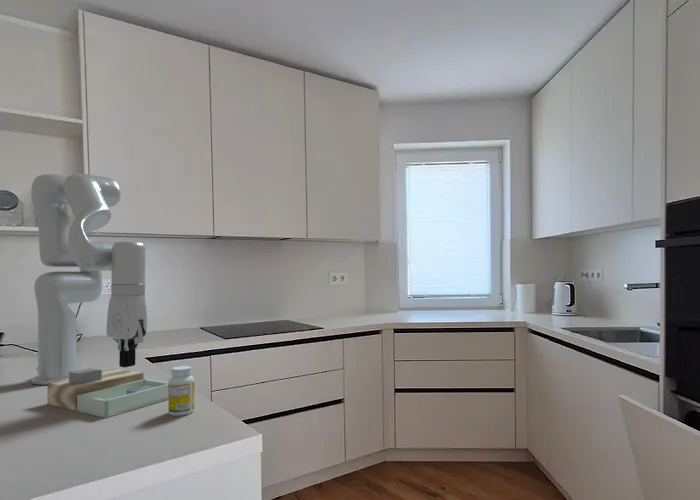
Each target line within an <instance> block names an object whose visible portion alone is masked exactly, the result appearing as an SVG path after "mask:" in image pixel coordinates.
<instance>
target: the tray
mask: <svg viewBox="0 0 700 500" xmlns="http://www.w3.org/2000/svg"><path fill="white" fill-rule="evenodd" d="M145 385H147V386H153V387H154V388H151V389H147V390H143V391H139V392H135V393H131V394H128V395H127V390H128V389H132V388H136V387H141V386H145ZM164 400H165V401H168V382H166V381H158V380H155V379H154V380H153V379H146V378H144V379H143V380H139V381H135V382H131V383H126V384H122V385H118V386H114V387H110V388H105V389H101V390H97V391H93V392H89V393H84V394H80V395H77V412H79V413H84V414H89V415H92V416H95V417H100V418H104V419H106V418H110V417H114V416H118V415H121V414H124V413H127V412H131V411H134V410H138V409H141V408H144V407H148V406H150V405H154V404H157V403H160V402H164Z"/></svg>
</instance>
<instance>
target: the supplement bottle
mask: <svg viewBox="0 0 700 500" xmlns="http://www.w3.org/2000/svg"><path fill="white" fill-rule="evenodd" d="M191 373H192V367H191V366H190V365H180V366H173V367H172V368H171V376H172V377H170V379H169V380H168V382H167V383H168V400H167V401H168V402H167V403H168V408H167V409H168V415H170V416H172V417H173V416H175V417H178V416H180V417H181V416H187V415H190V414H191V413H193V412H194V411H195V378H194V376H192V375H191Z"/></svg>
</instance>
